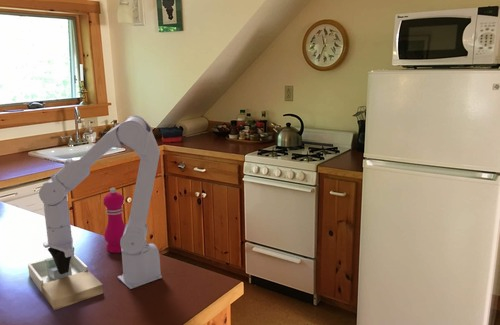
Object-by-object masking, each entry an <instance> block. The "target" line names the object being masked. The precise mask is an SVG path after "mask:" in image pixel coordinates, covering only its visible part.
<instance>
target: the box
mask: <svg viewBox="0 0 500 325" xmlns="http://www.w3.org/2000/svg"><path fill="white" fill-rule="evenodd" d="M49 258H50V257H49ZM49 258H47V259H49ZM70 266H71V271H72V275H73V274H77V273H80V272H83V271H86V270H88V271H89V266H87V264H85V263H84V261H82V260H81V259H80V258H79V257H78V255H76V254H75V253H74V256H71V260H70ZM27 267H28V275H29V277H30V279H31V280H32V281H33V283H34V284H35V285H36V287H37V289H38V290H39V292H41V293H42V288H41V284H44V283H48V282H51V281H54V279H53V278H51V277H50V276H48V273H47V267H46V261H45V259H42V260H39V261H35V262H30V263H28V264H27ZM69 276H70V275H69ZM66 277H67V276H66ZM63 278H64V277H63ZM60 279H61V278H60ZM56 280H57V279H56Z"/></svg>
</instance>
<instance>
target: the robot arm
mask: <svg viewBox="0 0 500 325" xmlns="http://www.w3.org/2000/svg"><path fill="white" fill-rule="evenodd" d="M124 145H125V146H126V147H128V148H130V149H132V150H133V151H134V152H135V153H136V155H137V156H138V157H139V158H140V160H139V165H138V171H137V176H136V182H135V187H134V191H133V197H132V203H131V207H130V212H129V218H128V220H127V223H126V224H125V229H124V233H123V236H122V238H121V240H120V246H121V250H122V252H121V260H122V261H121V262H122V274H121V275H118V276H117V278H118V279H119V281H121V282H122V283H123V284H124V285H125V286H126V287H127V288H129V289H130V290H131V289H132V290H133V289H135V288H138V287H141V286H143V285H146V284H149V283H150V282H154V281H156V280H159V279H162V278H163V276H162V274H161V273H162V272H161V258H160V257H161V255H160V251H159V248H158V247H157V245H156V244H154V243H148V241H147V235H148V232H149V228H148V225H147V220H148V215H149V214H148V213H149V209H150V204H151V199H152V195H153V190H154V184H155V180H156V174H157V170H158V164H159V160H160V156H161V150H160V146H159V145H158V142H157V140H156V138H155V135H154V133H153V129H152V127H151V125H150V124H149V123H148V122H147V121H146V120H145V119H144V118H143V117H141V116H140V115H130V116H128V117H127V118H125V120H124V121H123V122H120V123H118V124H117V125H115V126H114V127H113V128H111V129H109V130H108V132H106V133H105V134H104V135H103V136H102V137H101V138H100V139H99V140H97V142H96V143H95V144H93V146H91V147H90V148H89V149H88V150H87V152H85V153H84V154H83V155H82V156H81V157H72V158H71V159H69V158H68V159H67V160H65V161H64V162H63V167H61V168H60V169H59V170H58V171H57V172H56V173H55V172H53V173H52V174H51V175H50V177H49V178H50V179H48V180H47V181H46V182H44V183H43V184H42V186H41V187H40V189H39V191H38V197H39V199H40V200H41V201H42V203H43V208H44V209H43V212H44V220H45V229H46V236H47V241H45V242H43V243H42V245H43V247H44V248H47V251H48V252H49V254H51V258H52V257H53V259H54V261H55V264H56V267H57V270H58V272H59V273H60V274H64V273H67V272H68V271H69V265H70V260H71V256H74V254H75V247H74V246H73V245H74V244H73V243H74V239H73V237H72V236H73V235H72V227H71V226H72V225H71V218H70V216H71V215H70V209H69V202H68V194H69V193H70V192H71V191H73V190H74V189H75V188H76V187H77V186H78V185H80V184H81V183H82V182H83V181H84V180H85V179H86V178H87V177H88V176H89V175H90V174H91V166H93V165H94V164H95V163H96V162H97V161H98V160H99V159H101V157H103V156H104V155H105V154H106V153H107V152H109V151H110V150H111V149H112V148H121V147H122V146H124Z"/></svg>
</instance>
